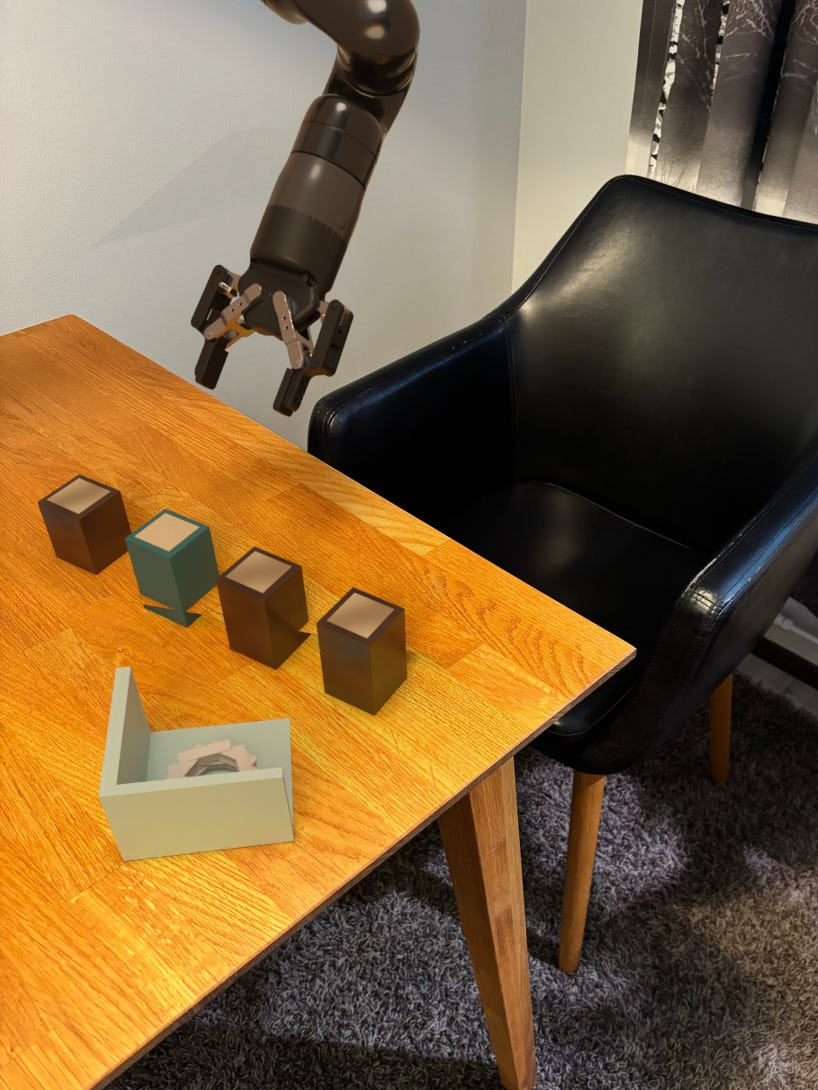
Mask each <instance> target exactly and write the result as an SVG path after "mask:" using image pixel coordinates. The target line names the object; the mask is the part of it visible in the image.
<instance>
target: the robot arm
mask: <svg viewBox="0 0 818 1090" xmlns="http://www.w3.org/2000/svg"><path fill="white" fill-rule="evenodd" d="M259 2H261V3H262V4H263V5H264V6H265V7H266V8H267V9H269V10H270V11H271V12H273V13H274V14H275V15H276V16H277V17H279V18H280V19H281V20H284V21H285V22H287V23H289V24H291V25H297V26H299V25H303V24H306V23H309V24H310V25H312V27H313V26H314V27H315V28H316V29H318V30H319V31H321V32H322V33H324V35H326V36H327V37H328V38H330V39H331V40H332V41H333V42H334V44H336V54H335V58H334V62H333V65H332V68H331V71H330V74H329V77H328V79H327V81H326V83H325V86H324V89H323V91H322V93H321V95H319V96H317V97H316V98H315V99H313V100H312V102H311V103H310V105H309V107H308V108H307V109H306V112H305V114H304V117H303V119H302V122H301V124H300V126H299V129H298V131H297V134H296V137H295V139H294V142H293V144H292V147H291V149H290V152H289V155H288V157H287V159H286V162H285V164H284V165H283V167H282V169H281V170H280V173H279V174H278V176H277V179H276V181H275V184H274V185H273V188H272V191H271V193H270V196H269V198H268V201H267V204H266V207H265V209H264V212H263V215H262V217H261V219H260V222H259V226H258V228H257V231H256V233H255V235H254V238H253V241H252V244H251V246H250V249H249V265H248V267H247V269H246V270H245V272H243V274H241V275H240V274H237V273H235V272H232V271H230V270H229V269H228V268H226V267H225V266H224V265H222V264H216V265H215V266H213V269H212V270H211V273H210V274H209V277H208V279H207V283H206V284H205V287H204V288H203V291H202V293H201V296H200V298H199V300H198V303H197V305H196V307H195V309H194V312H193V314H192V316H191V318H190V325H191V327H192V328H193V329H195V330H197V332H199V333H200V334H201V335H202V336H203V338H204V343H203V346H202V348H201V350H200V351H201V352H200V353H199V357H198V359H197V362H196V364H195V367H194V376H195V377H194V381H195V383H196V384H198V385H200V386H202V387H203V388H205V389H208V390H211V391H213V390H215V389H216V388H217V385H218V382H219V380H220V377H221V375H222V372H223V369H224V367H225V364H226V361H227V359H228V356H229V352H228V351H227V349H229V348H230V347H231V346H233V345H234V344H235V343H237V342H238V341H239V340H241V339H242V338H248V337H250V336H251V335H253V334H254V333H255V332H256V333H257V334H259V335H262V336H265V337H274V338H275V339H277V340H279V341H280V342H283V343H284V345H285V346H286V350H287V353H288V359H289V364H290V366H291V368H290V367H286V369H285V372H284V374H283V377H282V379H281V382H280V385H279V387H278V390H277V393H276V395H275V398H274V399H273V403H272V409H273V411H275V412H276V413H278V414H280V415H282V416H285V417H287V418H289V417H290V418H291V416H293V414H294V413H296V412H297V411H298V410H299V409H300V407H301V405H302V402H303V399H304V396H305V394H306V392H307V389H308V387H309V384H310V381H311V380H312V379H313V378H314V377H317V376H326V377H327V378H332V377H334V375H335V374H336V373H337V371H338V367H339V363H340V361H341V359H342V358H341V357H342V355H343V352H344V348H345V346H346V342H347V340H348V336H349V333H350V330H351V328H352V324H353V321H354V318H355V315H354V313H353V311H352V310H350V308H348V307H347V306H346V305H344V304H343V302H341V300H339V299H336V298H335V299H332V300H330V301H326V295H327V294H328V293H329V292H331V291H332V289H333V286H334V284H335V283H336V282H335V281H336V279H337V276H338V274H339V271H340V268H341V266H342V263H343V261H344V258H345V256H346V253H347V250H348V248H349V245H350V242H351V239H352V237H353V235H354V231H355V230H356V227H357V224H358V221H359V218H360V214H361V210H362V205H363V201H364V199H365V195H366V192H367V189H368V187H369V184H370V182H371V179H372V177H373V174H374V171H375V170H376V169H375V168H376V166H377V164H378V161H379V158H380V154H381V152H382V148H383V144H384V141H385V139H386V137H387V135H388V134H389V132H390V130H391V129H392V126H393V124H394V123H395V121H396V119H397V117H398V115H399V113H400V111H401V109H402V107H403V106H404V105H403V104H404V103H405V100H406V98H407V96H408V93H409V91H410V88H411V86H412V83H413V80H414V77H415V75H416V74H415V73H416V69H417V63H418V55H419V45H420V38H421V37H420V36H421V27H420V26H421V25H420V19H419V15H418V12H417V9H416V7H415V5H414V3H413V2H412V0H259ZM238 296H239V297H238ZM233 298H234V299H235V300H234V301H232V300H233ZM236 298H237V299H236ZM240 317H242V318H243V319H242V318H240ZM318 320H320V324H321V326H320V329H319V333H318V336H317V339H316V343H315V345H314V341H313V337H312V333H311V326H312V325H314V324H315V323H316V322H317V321H318Z"/></svg>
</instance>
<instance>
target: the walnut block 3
mask: <svg viewBox="0 0 818 1090" xmlns="http://www.w3.org/2000/svg"><path fill="white" fill-rule="evenodd" d="M315 624H316V633H317V640H318V649H319V656H320V658H319V659H320V665H321V674H322V682H323V691H324V694H327V695H329V696H331V697H334V698H335V699H337V700H340V701H342V702H344V703H346V704H349V705H350V706H353V707H355V708H357V709H360V710H361V711H363V712H366V713H368V714H370V715H372V716H375V715H376V714H378V712H379V711H380V710H381V708H382V707H383V706H384V705H385V704H386V703H387V702H388V700H389V699H390V698H391V697H392V696H393V695H394V694H395V692H396V691H397V690H398V689H399V688H400V687H401V685H402V684H403V683H404V682H405V681H406V680H407V678H408V665H407V663H408V662H407V639H406V637H407V636H406V633H407V632H406V610H405V608H404V607H402V606H400V605H398V604H395V603H392V602H391V601H388V600H385V599H383V598H380V597H378V596H376V595H373V594H371V593H368V592H366V591H364V590H362V589H358V588H356V587H354V586H352V587H351V589H349V590H348V591H347V592H346V593H345V594H344V595H343V596H342V597H341V598H340V599H339V600H338V601H337V602H335V604H334V605H333V606H331V608H330V609H329V610H328V611H326V613H325V614H324V615H323V616H321V618H320V619H318V621H317V622H316V623H315Z"/></svg>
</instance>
